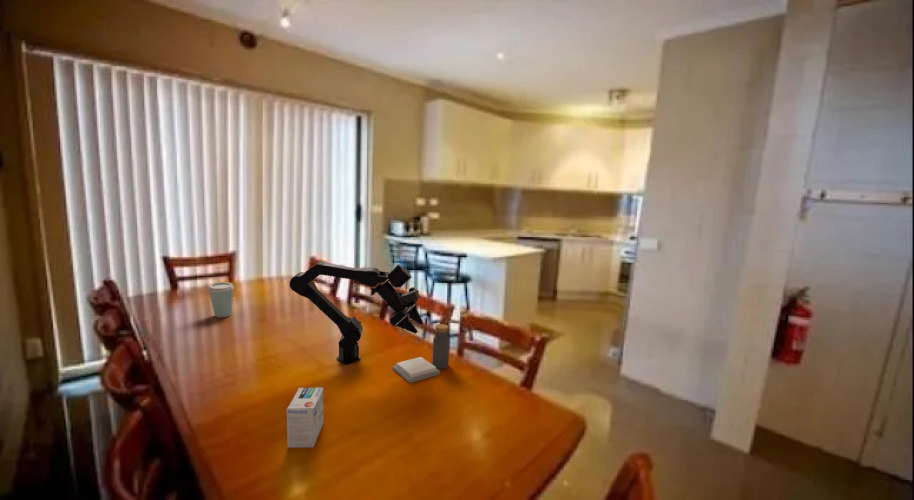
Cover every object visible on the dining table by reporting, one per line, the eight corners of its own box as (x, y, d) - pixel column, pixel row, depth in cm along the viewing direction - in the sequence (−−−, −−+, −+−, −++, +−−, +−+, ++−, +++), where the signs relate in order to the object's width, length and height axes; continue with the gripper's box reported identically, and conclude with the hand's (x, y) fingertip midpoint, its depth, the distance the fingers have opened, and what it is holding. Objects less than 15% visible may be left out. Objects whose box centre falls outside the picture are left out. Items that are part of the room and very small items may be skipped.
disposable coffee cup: (240, 314, 196) (238, 284, 194) (217, 321, 187) (215, 288, 185) (227, 310, 202) (226, 280, 199) (204, 316, 193) (202, 284, 190)
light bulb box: (299, 423, 114) (298, 386, 112) (324, 423, 114) (323, 386, 113) (286, 448, 103) (285, 408, 102) (314, 448, 104) (313, 408, 102)
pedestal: (410, 383, 139) (410, 376, 138) (392, 369, 148) (392, 362, 148) (439, 374, 146) (440, 367, 145) (421, 361, 155) (421, 355, 155)
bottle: (446, 369, 149) (447, 329, 147) (430, 367, 151) (431, 328, 148) (449, 363, 155) (451, 324, 153) (434, 361, 156) (436, 322, 154)
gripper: (399, 288, 140) (430, 323, 141) (412, 276, 159) (440, 306, 159) (376, 309, 143) (407, 342, 143) (392, 294, 161) (419, 324, 161)
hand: (419, 328), depth 152 cm, fingers open, 9 cm apart
